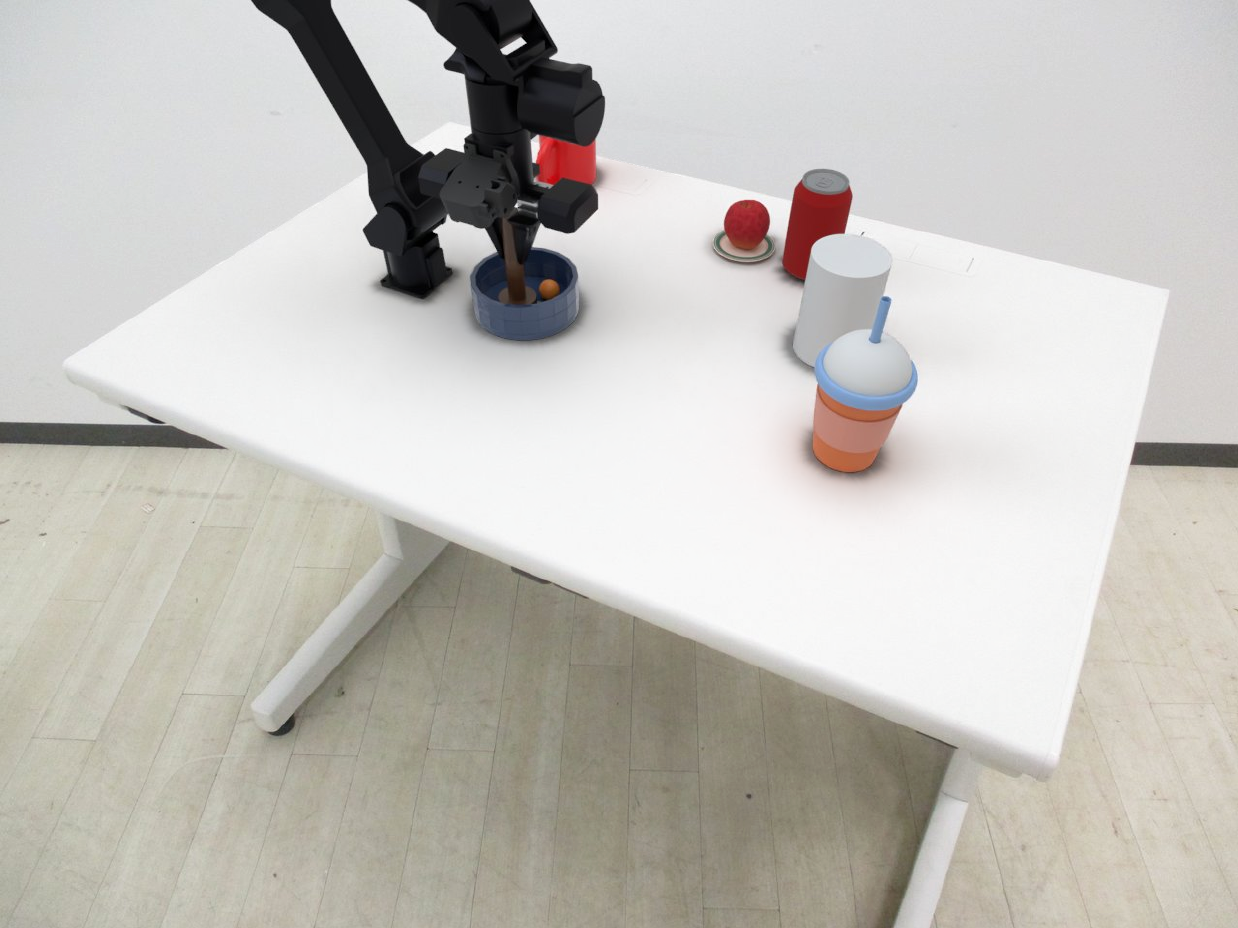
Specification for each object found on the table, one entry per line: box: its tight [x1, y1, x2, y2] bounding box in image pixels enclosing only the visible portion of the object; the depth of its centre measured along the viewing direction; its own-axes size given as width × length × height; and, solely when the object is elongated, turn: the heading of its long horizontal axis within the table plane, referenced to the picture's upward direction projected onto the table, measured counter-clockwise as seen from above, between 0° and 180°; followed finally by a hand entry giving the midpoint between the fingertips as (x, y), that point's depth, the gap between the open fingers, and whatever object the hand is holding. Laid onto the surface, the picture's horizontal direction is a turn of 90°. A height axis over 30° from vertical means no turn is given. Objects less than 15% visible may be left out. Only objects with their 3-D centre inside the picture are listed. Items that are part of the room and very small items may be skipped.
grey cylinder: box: [792, 233, 893, 368], centre depth 90 cm, size 8×8×12 cm
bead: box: [539, 279, 560, 300], centre depth 99 cm, size 2×2×2 cm
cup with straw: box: [812, 295, 919, 473], centre depth 77 cm, size 9×9×18 cm
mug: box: [535, 135, 597, 185], centre depth 117 cm, size 8×12×8 cm, turn 155°
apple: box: [712, 199, 776, 263], centre depth 106 cm, size 8×8×6 cm
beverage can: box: [782, 168, 853, 281], centre depth 101 cm, size 7×7×12 cm
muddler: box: [498, 206, 537, 305], centre depth 93 cm, size 4×4×12 cm
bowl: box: [469, 246, 580, 341], centre depth 98 cm, size 12×12×4 cm
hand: (513, 260), depth 93 cm, fingers closed on muddler, 2 cm apart
